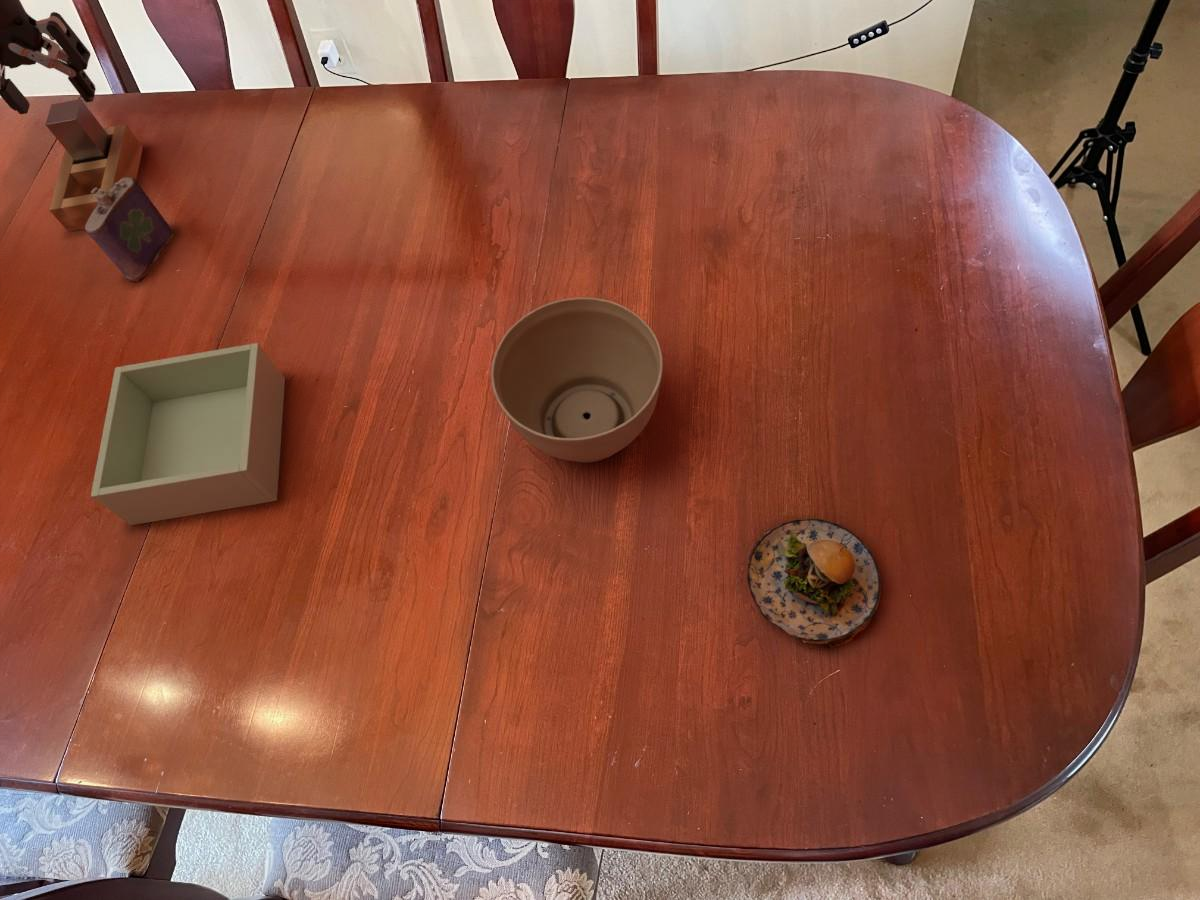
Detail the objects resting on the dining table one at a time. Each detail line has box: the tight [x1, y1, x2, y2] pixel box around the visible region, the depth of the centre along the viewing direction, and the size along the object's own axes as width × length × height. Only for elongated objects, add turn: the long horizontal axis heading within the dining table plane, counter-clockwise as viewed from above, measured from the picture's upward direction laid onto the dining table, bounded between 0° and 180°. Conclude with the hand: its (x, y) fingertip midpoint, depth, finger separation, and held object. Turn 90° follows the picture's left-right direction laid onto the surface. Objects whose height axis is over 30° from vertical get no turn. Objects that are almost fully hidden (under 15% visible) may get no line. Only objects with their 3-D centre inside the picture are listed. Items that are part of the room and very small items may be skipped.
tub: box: [90, 342, 286, 526], centre depth 89 cm, size 16×16×7 cm
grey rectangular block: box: [45, 98, 112, 164], centre depth 112 cm, size 4×4×10 cm
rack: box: [48, 123, 144, 233], centre depth 113 cm, size 8×14×4 cm, turn 8°
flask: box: [84, 177, 174, 282], centre depth 103 cm, size 9×3×11 cm, turn 163°
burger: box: [746, 517, 882, 649], centre depth 74 cm, size 12×12×8 cm
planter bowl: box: [490, 296, 664, 463], centre depth 84 cm, size 16×16×11 cm
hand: (58, 103), depth 107 cm, fingers open, 8 cm apart
